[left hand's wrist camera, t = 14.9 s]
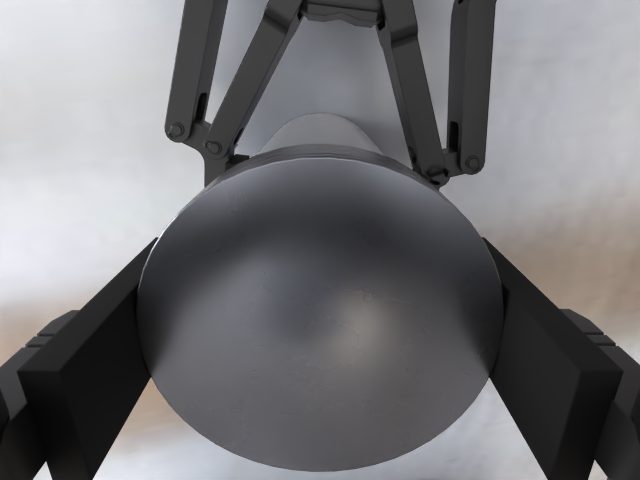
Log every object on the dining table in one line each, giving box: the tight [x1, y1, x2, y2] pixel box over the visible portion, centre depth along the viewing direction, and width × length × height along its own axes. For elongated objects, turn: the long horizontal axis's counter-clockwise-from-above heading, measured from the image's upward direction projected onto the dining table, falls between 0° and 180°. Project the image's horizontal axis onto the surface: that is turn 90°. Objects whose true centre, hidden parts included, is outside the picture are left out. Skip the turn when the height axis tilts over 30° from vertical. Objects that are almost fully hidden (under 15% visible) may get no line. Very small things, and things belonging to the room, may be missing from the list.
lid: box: [136, 143, 504, 472], centre depth 11 cm, size 9×9×2 cm
